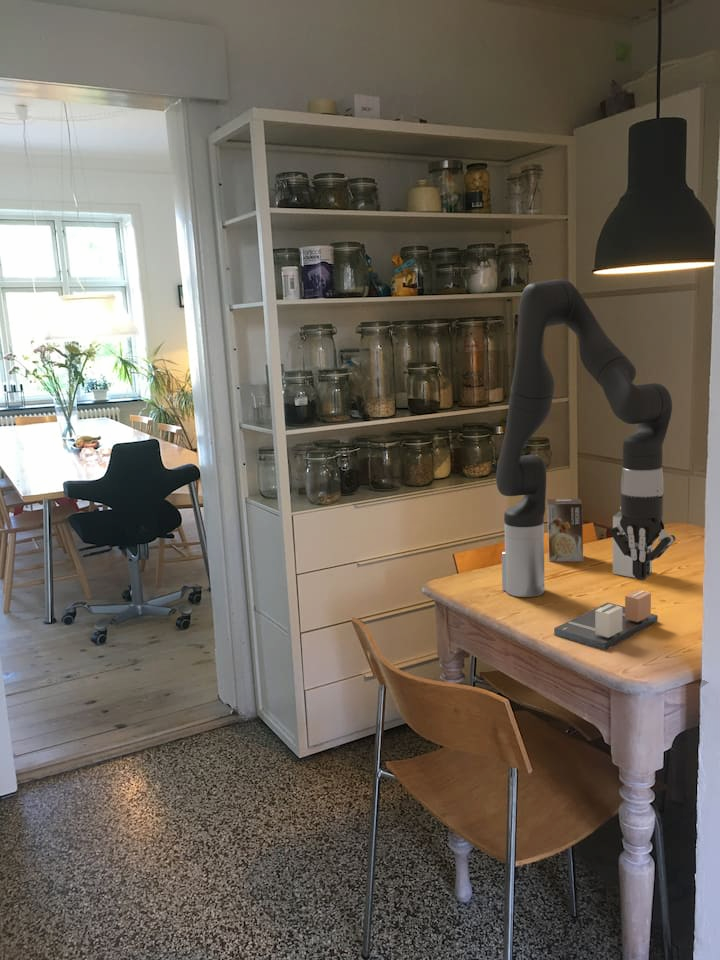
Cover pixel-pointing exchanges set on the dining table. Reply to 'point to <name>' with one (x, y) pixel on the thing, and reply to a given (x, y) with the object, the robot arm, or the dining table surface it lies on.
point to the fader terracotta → (638, 605)
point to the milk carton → (622, 555)
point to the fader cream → (608, 620)
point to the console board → (584, 633)
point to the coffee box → (565, 530)
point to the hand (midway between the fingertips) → (641, 578)
